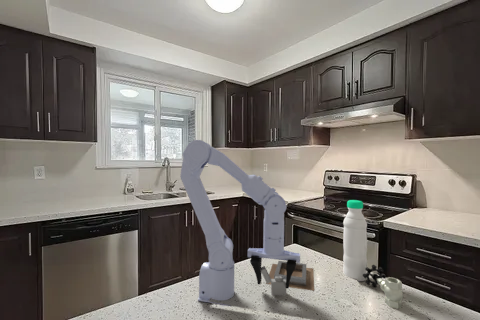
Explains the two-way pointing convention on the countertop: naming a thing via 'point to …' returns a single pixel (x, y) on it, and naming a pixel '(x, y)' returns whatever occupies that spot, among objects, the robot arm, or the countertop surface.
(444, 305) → the countertop surface
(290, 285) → the walnut board
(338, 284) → the countertop surface
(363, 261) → the water bottle
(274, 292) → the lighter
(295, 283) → the steel collar
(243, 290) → the countertop surface
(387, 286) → the valve
